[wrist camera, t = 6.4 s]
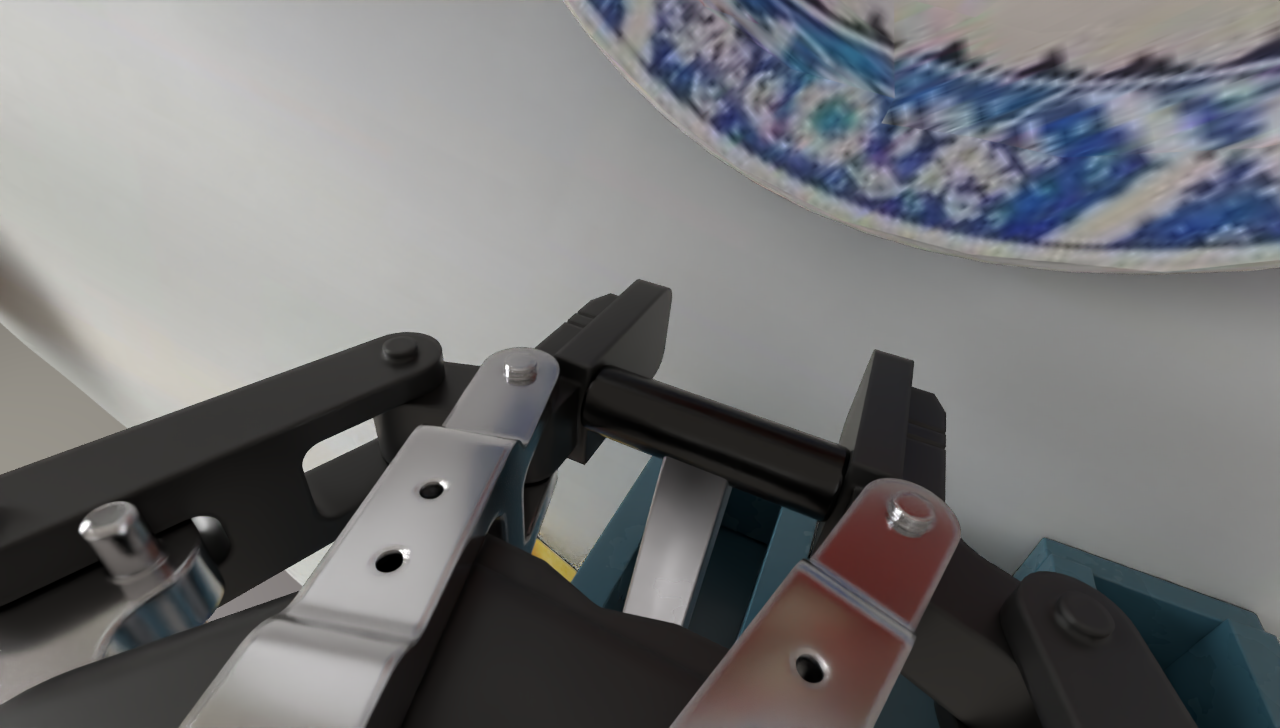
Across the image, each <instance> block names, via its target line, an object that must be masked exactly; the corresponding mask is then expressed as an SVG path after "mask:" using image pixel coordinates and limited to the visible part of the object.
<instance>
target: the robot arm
mask: <svg viewBox="0 0 1280 728" xmlns="http://www.w3.org/2000/svg"><path fill="white" fill-rule="evenodd" d="M671 302H672V291H671V289H670V288H668V287H664V286H661V285H657V284H654V283H651V282H647V281H644V280H641V279H638V280H636V281H635V282H634V283H633V284H632V285H631V286H629V287H628V288H627V289H626V290H625V291H624V292H623V293H622V294H621V295H620V296H617V295H614V294H611V293H610V294H607V295H605V296H602V297H599V298H596V299H593V300H591V301H590V302H588V303H587V304H586V305H585V306H584V307H583V308H581V309H580V310H579V311H578V314H576V313H575V314H574V315H573V316H572V317H571V318H570V319H568V322H567V323H566V322H565V323H564V324H563V325H561V326H560V327H559V328H558V329H557V330H555V331H554V332H553V333H552V334H551V335H550V336H548V337H547V338H546V339H545V340H544V341H542V342H541V343H540V344H539V345H538V346H537V347H535V348H527V347H516V348H509V349H504V350H501V351H498V352H496V353H494V354H492V355H491V356H489V357H488V358H487V359H486V360H485V361H484V362H483V363H482V365H481V366H474V365H466V364H458V363H450V362H444V361H443V354H442V347H441V345H440V343H439V342H438V341H437V340H436V339H434V338H433V337H431V336H428V335H425V334H421V333H414V332H402V333H394V334H389V335H386V336H383V337H380V338H377V339H374V340H371V341H369V342H366V343H363V344H360V345H358V346H355V347H352V348H349V349H347V350H344V351H341V352H338V353H335V354H333V355H330V356H327V357H324V358H322V359H319V360H316V361H313V362H311V363H308V364H305V365H302V366H300V367H297V368H294V369H291V370H289V371H286V372H283V373H280V374H278V375H275V376H272V377H269V378H266V379H264V380H261V381H258V382H255V383H253V384H250V385H247V386H244V387H242V388H239V389H236V390H233V391H231V392H228V393H225V394H222V395H220V396H217V397H214V398H211V399H208V400H206V401H203V402H200V403H197V404H195V405H192V406H189V407H186V408H184V409H181V410H178V411H175V412H173V413H170V414H167V415H164V416H162V417H159V418H156V419H153V420H150V421H148V422H145V423H142V424H139V425H137V426H134V427H131V428H128V429H126V430H123V431H120V432H117V433H115V434H112V435H109V436H106V437H104V438H101V439H98V440H95V441H93V442H90V443H87V444H84V445H81V446H79V447H76V448H73V449H71V450H68V451H65V452H62V453H59V454H57V455H54V456H51V457H48V458H46V459H43V460H40V461H37V462H34V463H32V464H29V465H26V466H24V467H21V468H18V469H15V470H13V471H10V472H7V473H4V474H1V475H0V728H873V727H874V725H875V723H876V721H877V719H878V717H879V715H880V713H881V711H882V709H883V707H884V705H885V703H886V701H887V698H888V696H889V694H890V692H891V690H892V688H893V686H894V684H895V682H896V680H897V678H898V676H899V674H901V675H903V676H904V677H905V678H907V679H908V680H909V681H910V682H912V683H913V684H914V685H915V686H917V687H918V688H919V689H920V690H922V691H923V692H924V693H926V694H927V695H928V696H929V697H931V698H932V699H933V700H934V707H935V712H936V716H937V719H938V723H939V727H940V728H1198V726H1197V725H1196V723H1195V722H1194V720H1193V718H1192V717H1191V715H1190V714H1189V712H1188V710H1187V709H1186V707H1185V705H1184V704H1183V702H1182V701H1181V699H1180V697H1179V696H1178V694H1177V693H1176V691H1175V689H1174V688H1173V686H1172V685H1171V683H1170V681H1169V680H1168V678H1167V676H1166V675H1165V673H1164V672H1163V670H1162V668H1161V667H1160V665H1159V664H1158V662H1157V660H1156V659H1155V657H1154V656H1153V654H1152V652H1151V651H1150V649H1149V647H1148V646H1147V644H1146V643H1145V641H1144V639H1143V638H1142V636H1141V635H1140V633H1139V631H1138V630H1137V628H1136V627H1135V625H1134V624H1133V623H1132V621H1131V620H1130V619H1129V618H1128V616H1127V615H1126V614H1125V613H1124V612H1123V611H1122V610H1121V609H1120V608H1119V607H1118V606H1117V605H1116V604H1115V603H1114V602H1112V601H1111V600H1110V599H1109V598H1107V597H1106V596H1105V595H1104V594H1102V593H1101V592H1099V591H1098V590H1096V589H1095V588H1093V587H1091V586H1090V585H1088V584H1086V583H1084V582H1082V581H1080V580H1078V579H1076V578H1073V577H1071V576H1068V575H1065V574H1061V573H1057V572H1050V571H1038V572H1034V573H1030V574H1029V575H1027V576H1025V577H1024V579H1023V580H1022V581H1019V580H1018V579H1016V578H1014V577H1013V576H1011V575H1010V574H1008V573H1006V572H1005V571H1003V570H1002V569H1000V568H998V567H997V566H995V565H993V564H992V563H990V562H989V561H987V560H986V559H984V558H983V557H981V556H980V555H979V554H977V553H976V552H975V551H974V550H972V549H971V548H970V547H969V546H968V545H967V544H966V543H965V542H964V541H963V540H962V539H961V538H960V537H961V529H960V524H959V522H958V520H957V517H956V516H955V514H954V513H953V511H952V510H951V509H950V508H949V506H948V505H947V504H946V503H945V470H946V450H945V447H946V435H945V432H946V412H945V411H944V409H943V407H942V406H941V404H940V402H939V401H938V399H937V397H936V396H935V394H933V393H930V392H926V391H923V390H920V389H917V388H914V387H912V378H913V367H914V361H913V360H909V359H906V358H902V357H899V356H896V355H892V354H889V353H886V352H882V351H879V350H876V349H875V350H874V352H873V354H872V356H871V358H870V361H869V363H868V365H867V368H866V371H865V373H864V376H863V378H862V381H861V383H860V386H859V388H858V391H857V393H856V396H855V398H854V401H853V403H852V406H851V408H850V411H849V413H848V416H847V419H846V422H845V424H844V427H843V430H842V434H841V437H840V441H839V445H842V446H845V447H847V448H848V449H849V450H850V460H849V464H848V468H847V472H846V475H845V479H844V484H843V487H842V490H841V493H840V495H839V498H838V501H837V503H836V506H835V508H834V510H833V513H832V515H831V516H830V518H829V519H828V520H827V521H826V522H820V521H819V525H818V529H817V533H816V537H815V541H814V545H813V549H812V553H811V557H810V560H809V561H808V560H807V559H805V558H803V559H801V560H800V561H799V562H798V563H797V564H796V565H795V567H794V568H793V569H792V570H791V572H790V573H789V574H788V575H787V577H786V578H785V579H784V581H783V582H782V583H781V584H780V586H779V587H778V588H777V590H776V591H775V592H774V593H773V595H772V596H771V597H770V599H769V600H768V601H767V602H766V604H765V605H764V606H763V608H762V609H761V610H760V611H759V613H758V614H757V615H756V617H755V618H754V619H753V620H752V622H751V623H750V624H749V626H748V627H747V628H746V629H745V631H744V632H743V633H742V635H741V636H740V637H739V638H738V640H737V641H736V642H735V644H734V645H733V646H732V647H731V649H728V648H726V647H724V646H721V645H719V644H717V643H715V642H713V641H711V640H709V639H707V638H705V637H703V636H701V635H699V634H696V633H694V632H692V631H690V630H688V629H686V628H684V627H682V626H680V625H678V624H675V623H671V622H666V621H661V620H656V619H652V618H647V617H642V616H638V615H633V614H628V613H624V612H619V611H614V610H610V609H606V608H602V607H600V606H598V605H596V604H595V603H593V602H592V601H591V600H590V599H589V598H588V597H586V596H585V595H584V594H583V593H582V592H581V591H579V590H578V589H577V588H576V587H575V586H574V585H573V584H571V583H570V582H569V581H568V580H567V579H566V578H564V577H563V576H562V575H561V574H560V573H559V572H557V571H556V570H555V569H554V568H553V567H552V566H551V565H549V564H548V563H547V562H546V561H545V560H543V559H540V558H538V557H536V556H534V555H532V551H533V548H534V545H535V542H536V539H537V537H538V534H539V531H540V528H541V525H542V523H543V520H544V517H545V514H546V511H547V509H548V506H549V503H550V500H551V497H552V495H553V492H554V489H555V486H556V483H557V479H558V468H559V467H560V465H561V464H562V463H563V462H564V460H565V459H566V458H569V459H571V460H574V461H576V462H579V463H581V464H584V465H585V464H586V463H587V461H588V460H589V459H590V458H591V456H592V455H593V454H594V452H595V451H596V450H597V449H598V447H599V446H600V445H601V443H602V442H603V441H604V440H605V438H606V437H604V436H601V435H599V434H596V433H594V432H591V431H588V430H586V429H585V428H584V427H583V426H582V424H581V420H580V413H581V406H582V402H583V398H584V395H585V392H586V389H587V387H588V385H589V383H590V381H591V379H592V378H593V376H594V375H595V373H596V372H597V371H598V370H599V369H600V368H601V367H602V366H604V365H614V366H617V367H620V368H622V369H625V370H628V371H631V372H634V373H637V374H640V375H642V376H645V377H648V378H651V379H652V378H653V377H654V375H655V374H656V372H657V370H658V368H659V366H660V364H661V361H662V358H663V354H664V350H665V343H666V336H667V329H668V322H669V316H670V309H671ZM371 418H374V423H375V427H376V431H377V436H378V438H377V439H375V440H372V441H370V442H368V443H366V444H364V445H362V446H360V447H358V448H356V449H354V450H352V451H349V452H347V453H345V454H343V455H341V456H339V457H337V458H335V459H333V460H331V461H329V462H327V463H324V464H322V465H320V466H318V467H316V468H314V469H312V470H310V471H308V472H305V473H304V471H303V468H302V462H303V458H304V456H305V455H306V453H307V452H308V451H309V449H310V448H312V447H313V446H314V445H315V444H317V443H319V442H321V441H323V440H325V439H327V438H329V437H332V436H334V435H336V434H338V433H340V432H343V431H345V430H347V429H349V428H351V427H354V426H356V425H358V424H360V423H362V422H365V421H367V420H369V419H371ZM334 541H335V542H334ZM332 542H334V543H333V545H332V546H331V547H330V549H329V550H328V552H327V553H326V554H325V556H324V557H323V559H322V560H321V561H320V563H319V564H318V566H317V567H316V568H315V570H314V571H313V573H312V574H311V576H310V577H309V578H308V580H307V581H306V583H305V584H304V585H303V587H302V588H301V590H300V591H297V592H295V593H292V594H289V595H286V596H283V597H280V598H277V599H274V600H271V601H269V602H266V603H263V604H260V605H257V606H254V607H251V608H248V609H245V610H243V611H240V612H237V613H234V614H231V615H228V616H225V617H223V618H219V619H217V620H214V621H211V622H209V621H208V619H209V617H210V616H211V615H212V614H213V613H214V611H215V610H216V609H217V608H218V607H220V606H222V605H224V604H225V603H227V602H229V601H231V600H233V599H234V598H236V597H238V596H240V595H241V594H243V593H245V592H247V591H248V590H250V589H252V588H254V587H255V586H257V585H259V584H261V583H262V582H264V581H266V580H267V579H269V578H271V577H273V576H274V575H276V574H278V573H280V572H282V571H283V570H285V569H287V568H289V567H290V566H292V565H294V564H296V563H297V562H299V561H301V560H303V559H304V558H306V557H308V556H310V555H311V554H313V553H315V552H317V551H318V550H320V549H322V548H324V547H325V546H327V545H329V544H331V543H332Z"/></svg>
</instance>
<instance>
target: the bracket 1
mask: <svg viewBox="0 0 1280 728" xmlns="http://www.w3.org/2000/svg"><path fill="white" fill-rule="evenodd" d="M662 462H663V460H662V459H660V458H657V457H655V456H652V457H651V459H650V460H649V462H648V463H647V465H646V466H645V468H644V469H643V471H642V473H641V474H640V476H639V477H638V479H637V480H636V482H635V483H634V485H633V486H632V488H631V490H630V491H629V493H628V494H627V496H626V497H625V499H624V500H623V502H622V503H621V505H620V507H619V508H618V510H617V511H616V513H615V514H614V516H613V517H612V519H611V520H610V522H609V524H608V525H607V527H606V528H605V530H604V531H603V533H602V534H601V536H600V538H599V539H598V541H597V542H596V544H595V545H594V547H593V548H592V550H591V551H590V553H589V555H588V556H587V558H586V559H585V561H584V562H583V564H582V565H581V567H580V568H579V570H578V572H577V573H576V575H575V576H574V578H573V579H572V581H571V582H570V583H571V584H573V585H574V586H575V587H576V588H577V589H578V590H579V591H581V592H582V593H583V594H584V595H585V596H586V597H588V598H589V599H590V600H591V601H592V602H593V603H595V604H596V605H598V606H600V607H602V608H606V609H610V610H614V611H619V612H623V608H624V605H625V601H626V597H627V593H628V590H629V586H630V582H631V578H632V575H633V571H634V567H635V563H636V560H637V556H638V552H639V548H640V545H641V541H642V537H643V533H644V530H645V526H646V522H647V518H648V515H649V511H650V507H651V503H652V499H653V496H654V492H655V488H656V484H657V481H658V477H659V473H660V469H661V466H662ZM816 524H817V520H815V519H812V518H809V517H807V516H804V515H802V514H799V513H797V512H794V511H792V510H789V509H787V508H784V507H782V506H779V505H776V504H774V503H771V502H769V501H766V500H764V499H761V498H759V497H756V496H754V495H751V494H748V493H746V492H743V491H741V490H738V489H736V488H733V487H732V490H731V493H730V496H729V499H728V503H727V506H726V509H725V512H724V515H723V519H722V522H721V525H722V526H725V527H727V528H729V529H732V530H734V531H737V532H739V533H741V534H744V535H746V536H749V537H751V538H753V539H756V540H758V541H761V542H763V543H765V544H767V547H766V550H765V553H764V556H763V559H762V562H761V565H760V568H759V571H758V574H757V577H756V580H755V583H754V586H753V589H752V592H751V595H750V598H749V601H748V604H747V607H746V610H745V613H744V616H743V619H742V622H741V625H740V628H739V631H738V634H737V637H736V640H735V642H736V641H737V640H738V638H739V637H740V636H741V635H742V633H743V632H744V631H745V629H746V628H747V627H748V626H749V624H750V623H751V622H752V620H753V619H754V618H755V617H756V615H757V614H758V613H759V611H760V610H761V609H762V608H763V606H764V605H765V604H766V602H767V601H768V600H769V599H770V597H771V596H772V595H773V593H774V592H775V591H776V590H777V588H778V587H779V586H780V584H781V583H782V582H783V581H784V579H785V578H786V577H787V575H788V574H789V573H790V572H791V570H792V569H793V568H794V567H795V565H796V564H797V563H798V562H799V561H800V560H801V559H803V558H805V559H808V555H809V552H810V548H811V544H812V540H813V536H814V532H815V528H816ZM734 644H735V643H734Z"/></svg>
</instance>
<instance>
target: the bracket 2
mask: <svg viewBox="0 0 1280 728" xmlns="http://www.w3.org/2000/svg"><path fill="white" fill-rule="evenodd" d="M1038 571H1050V572H1057V573H1061V574H1065V575H1068V576H1071V577H1073V578H1076V579H1078V580H1080V581H1082V582H1084V583H1086V584H1088V585H1090V586H1091V587H1093V588H1095V589H1096V590H1098V591H1099V592H1101V593H1102V594H1104V595H1105V596H1106V597H1107V598H1109V599H1110V600H1111V601H1112V602H1114V603H1115V604H1116V605H1117V606H1118V607H1119V608H1120V609H1121V610H1122V611H1123V612H1124V613H1125V614H1126V615H1127V616H1128V618H1129V619H1130V620H1131V621H1132V623H1133V624H1134V625H1135V627H1136V628H1137V630H1138V631H1139V633H1140V635H1141V636H1142V638H1143V639H1144V641H1145V643H1146V644H1147V646H1148V647H1149V649H1150V651H1151V652H1152V654H1153V656H1154V657H1155V659H1156V660H1157V662H1158V664H1159V665H1160V667H1161V668H1162V670H1163V672H1164V673H1165V675H1166V676H1167V678H1168V680H1169V681H1170V683H1171V685H1172V686H1173V688H1174V689H1175V691H1176V693H1177V694H1178V696H1179V697H1180V699H1181V701H1182V702H1183V704H1184V705H1185V707H1186V709H1187V710H1188V712H1189V714H1190V715H1191V717H1192V718H1193V720H1194V722H1195V723H1196V725H1197V726H1198V728H1280V644H1279V642H1278V640H1277V638H1276V636H1274V635H1272V634H1270V633H1267V632H1265V631H1264V629H1263V627H1262V625H1261V623H1260V621H1259V619H1258V616H1257V615H1256V614H1255V613H1253V612H1251V611H1248V610H1245V609H1242V608H1239V607H1237V606H1234V605H1231V604H1228V603H1226V602H1223V601H1220V600H1217V599H1215V598H1212V597H1209V596H1206V595H1203V594H1201V593H1198V592H1195V591H1192V590H1190V589H1187V588H1184V587H1181V586H1178V585H1176V584H1173V583H1170V582H1167V581H1165V580H1162V579H1159V578H1156V577H1153V576H1151V575H1148V574H1145V573H1142V572H1140V571H1137V570H1134V569H1131V568H1128V567H1126V566H1123V565H1120V564H1117V563H1115V562H1112V561H1109V560H1106V559H1103V558H1101V557H1098V556H1095V555H1092V554H1090V553H1087V552H1084V551H1081V550H1078V549H1076V548H1073V547H1070V546H1067V545H1065V544H1062V543H1059V542H1056V541H1054V540H1051V539H1048V538H1043V539H1042V540H1041V541H1040V542H1039V544H1038V545H1037V546H1036V548H1035V549H1034V550H1033V551H1032V553H1031V554H1030V555H1029V556H1028V558H1027V559H1026V560H1025V561H1024V563H1023V564H1022V565H1021V566H1020V568H1019V569H1018V570H1017V572H1016V573H1015V574H1014V575H1013V577H1014V578H1016V579H1018V580H1019V581H1022V580H1023V579H1024V577H1025V576H1027V575H1029V574H1030V573H1034V572H1038Z"/></svg>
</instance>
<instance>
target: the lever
mask: <svg viewBox="0 0 1280 728" xmlns="http://www.w3.org/2000/svg"><path fill="white" fill-rule="evenodd" d="M580 420H581V424H582V426H583V427H584V428H585V429H586V430H588V431H591V432H594V433H596V434H599V435H601V436H604V437H606V438H609V439H611V440H614V441H616V442H619V443H621V444H624V445H627V446H629V447H632V448H634V449H637V450H639V451H642V452H644V453H647V454H649V455H652V456H655V457H657V458H660V459H662V460H663V462H662V466H661V469H660V473H659V477H658V481H657V484H656V488H655V492H654V496H653V499H652V503H651V507H650V511H649V515H648V518H647V522H646V526H645V530H644V533H643V537H642V541H641V545H640V548H639V552H638V556H637V560H636V563H635V567H634V571H633V575H632V578H631V582H630V586H629V590H628V593H627V597H626V601H625V605H624V608H623V612H624V613H628V614H633V615H638V616H642V617H647V618H652V619H656V620H661V621H666V622H671V623H675V624H678V625H680V626H682V627H684V628H686V629H688V627H689V624H690V620H691V617H692V614H693V611H694V608H695V604H696V601H697V598H698V595H699V592H700V589H701V585H702V582H703V579H704V576H705V573H706V569H707V566H708V563H709V560H710V557H711V554H712V550H713V547H714V544H715V541H716V538H717V534H718V531H719V528H720V525H721V522H722V519H723V515H724V512H725V509H726V506H727V503H728V499H729V496H730V493H731V490H732V487H733V488H736V489H738V490H741V491H743V492H746V493H748V494H751V495H754V496H756V497H759V498H761V499H764V500H766V501H769V502H771V503H774V504H776V505H779V506H782V507H784V508H787V509H789V510H792V511H794V512H797V513H799V514H802V515H804V516H807V517H809V518H812V519H815V520H817V521H820V522H826V521H827V520H828V519H829V518H830V516H831V515H832V513H833V510H834V508H835V506H836V503H837V501H838V498H839V495H840V493H841V490H842V487H843V484H844V479H845V475H846V472H847V468H848V464H849V460H850V450H849V449H848V448H847V447H845V446H842V445H839V444H836V443H833V442H831V441H828V440H825V439H822V438H819V437H816V436H813V435H811V434H808V433H805V432H802V431H799V430H796V429H793V428H791V427H788V426H785V425H782V424H779V423H776V422H774V421H771V420H768V419H765V418H762V417H759V416H756V415H754V414H751V413H748V412H745V411H742V410H739V409H736V408H734V407H731V406H728V405H725V404H722V403H719V402H717V401H714V400H711V399H708V398H705V397H702V396H699V395H697V394H694V393H691V392H688V391H685V390H682V389H679V388H677V387H674V386H671V385H668V384H665V383H662V382H659V381H657V380H654V379H651V378H648V377H645V376H642V375H640V374H637V373H634V372H631V371H628V370H625V369H622V368H620V367H617V366H614V365H604V366H602V367H601V368H600V369H599V370H598V371H597V372H596V373H595V375H594V376H593V378H592V379H591V381H590V383H589V385H588V387H587V389H586V392H585V395H584V398H583V402H582V406H581V413H580Z"/></svg>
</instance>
